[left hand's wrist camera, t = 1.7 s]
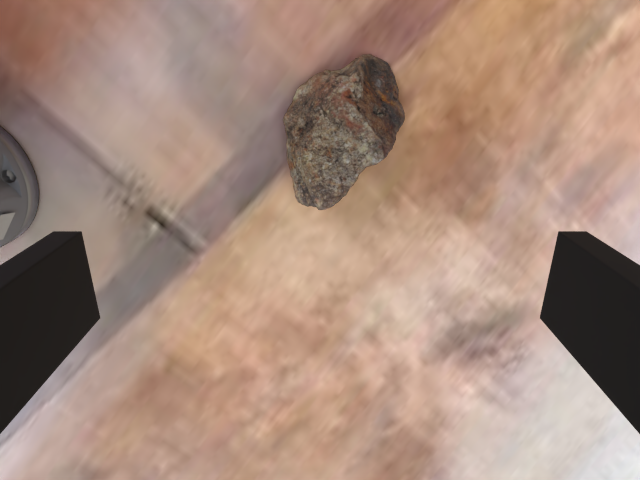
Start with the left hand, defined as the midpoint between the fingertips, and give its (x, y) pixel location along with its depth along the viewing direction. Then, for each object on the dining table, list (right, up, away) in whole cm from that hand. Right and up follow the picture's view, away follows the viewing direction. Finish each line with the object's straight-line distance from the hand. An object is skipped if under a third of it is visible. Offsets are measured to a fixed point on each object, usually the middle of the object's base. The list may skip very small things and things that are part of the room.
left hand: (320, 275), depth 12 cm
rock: (+2, +13, +32) cm, 35 cm away
